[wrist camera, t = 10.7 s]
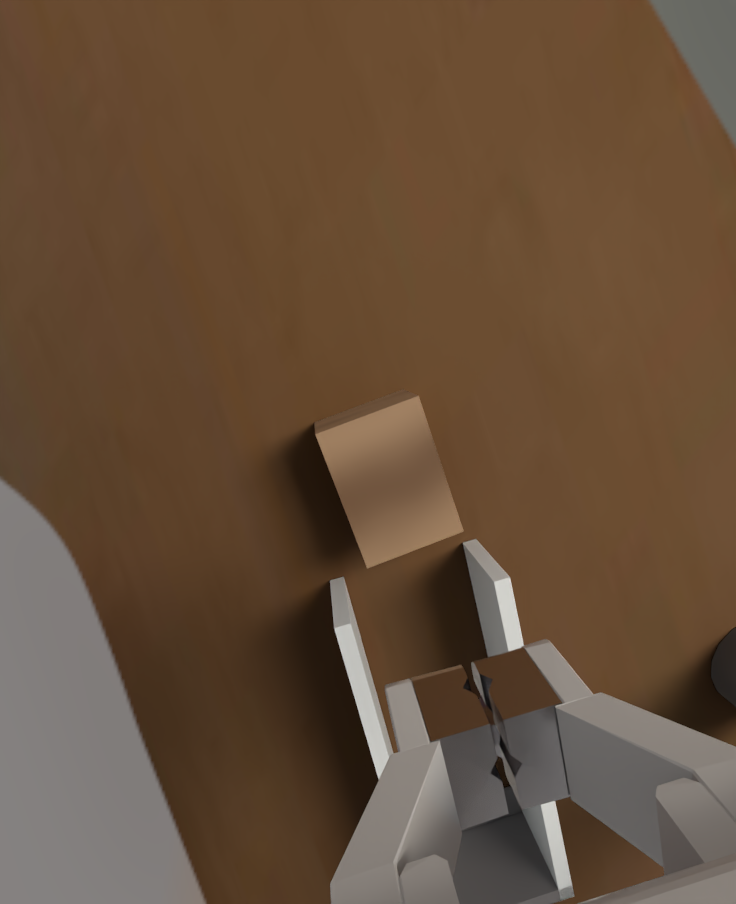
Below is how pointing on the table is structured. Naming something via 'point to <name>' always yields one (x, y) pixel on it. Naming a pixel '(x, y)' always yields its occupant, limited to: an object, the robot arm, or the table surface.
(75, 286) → the table surface
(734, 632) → the candle holder
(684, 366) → the table surface
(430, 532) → the light brown block
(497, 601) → the white channel
